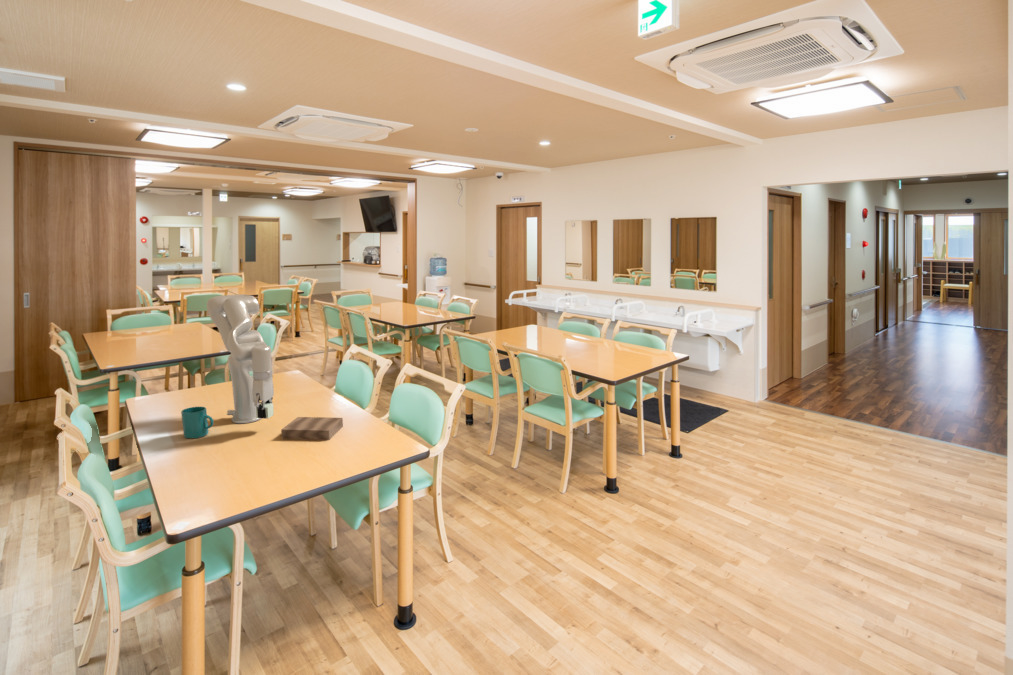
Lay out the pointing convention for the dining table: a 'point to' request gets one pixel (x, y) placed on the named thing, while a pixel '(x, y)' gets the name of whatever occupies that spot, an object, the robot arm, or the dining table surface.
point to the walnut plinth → (312, 428)
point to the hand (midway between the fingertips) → (265, 415)
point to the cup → (195, 422)
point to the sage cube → (267, 410)
